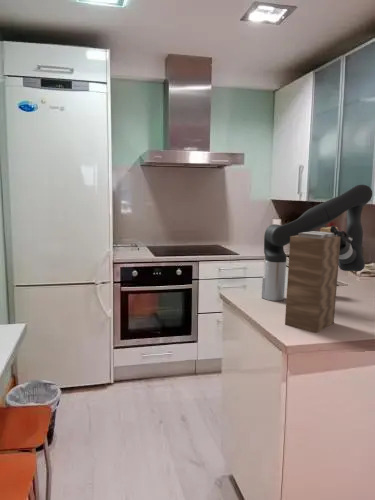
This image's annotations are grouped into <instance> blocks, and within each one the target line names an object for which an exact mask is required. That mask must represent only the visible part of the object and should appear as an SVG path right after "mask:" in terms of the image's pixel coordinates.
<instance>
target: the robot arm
mask: <svg viewBox="0 0 375 500" xmlns="http://www.w3.org/2000/svg"><path fill="white" fill-rule="evenodd" d="M372 198H373V190H372V188H371V187H370V186H369V185H366V184H357V185H355V186H353V187H352V188H350V189H349V190H347V191H345V192H344V193H342V194H340V195H339V196H336V197H335V196H334V197H333V198H330V199H328V200H326V201H324V202H322V203H319V204H316V205H315V206H313V207H310V208H309V209H307V210H306V211H304V212H303V213H302V214H301V215H300V216H299V217H298V218H297V219H295V220H293V221H291V222H287V223H285V224H270V225H269V226H268V227H266V229H265V231H264V237H263V238H264V240H263V253H264V258H265V259H264V273H263V274H264V276H263V277H262V280H261V281H262V283H261V299H265V300H268V301H271V302H272V301H275V302H276V301H278V302H279V301H284V300H285V289H286V288H285V287H286V284H285V283H286V270H287V254H286V253H285V249H284V246H286V245H288V244H290V236H297V235H298V233H303V232H311V231H315V230H316V229H319V228H325V227H327V224H329V223H331V222H333V221H334V220H336V219H337V218H338V217H339V216H341V215H342V214H344V213H346V227H345V228H346V229H345V230H341V231H340V230H339V229H336V227H337V226H335V225H331V226H330V227H331V229H330V231H331V232H332V233H334V236H339V237H341V240H340V252H339V264H338V269H340V270H341V271H343V272H361V271H363V270H364V269H365V266H366V262H365V258H364V257H365V256H364V253H363V238H364V230H363V225H362V219H361V218H362V212H363V208H364V207H365V206H366V205H368V203H369V202H370V201H371V200H372Z"/></svg>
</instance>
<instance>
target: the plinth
mask: <svg viewBox="0 0 375 500" xmlns="http://www.w3.org/2000/svg"><path fill="white" fill-rule="evenodd" d="M340 240H341V237H339V236H333V237H327V238H321V239H319V238H309V237H298V235H297V236H290V243H289V252H288V253H289V255H288V269H287V270H288V271H287V284H286V285H287V286H286V297H285V298H286V302H285V316H284V317H285V318H284V325H286V326H289V327H293V328H297V329H301V330H303V331H304V330H305V331H307V332H313V333H319V332H321V331H322V330H325V328H328V327H329V326H331V325H333V324H334V323H335V312H336V302H337V301H336V299H337V288H338V287H337V285H338V277H339V275H338V274H339V273H338V272H339V252H340Z"/></svg>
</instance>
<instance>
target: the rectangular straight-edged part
mask: <svg viewBox="0 0 375 500" xmlns="http://www.w3.org/2000/svg"><path fill="white" fill-rule="evenodd" d="M335 227H336V229H337V230H339V228H338V227H337V226H335ZM330 229H331V226H326V227H325V228H322V227H319V231H315V230H312V231H310V232H303V233H298V237H309V238H319V239H321V238H327V237H333V236H334V233H332V232H331V231H330Z"/></svg>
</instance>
